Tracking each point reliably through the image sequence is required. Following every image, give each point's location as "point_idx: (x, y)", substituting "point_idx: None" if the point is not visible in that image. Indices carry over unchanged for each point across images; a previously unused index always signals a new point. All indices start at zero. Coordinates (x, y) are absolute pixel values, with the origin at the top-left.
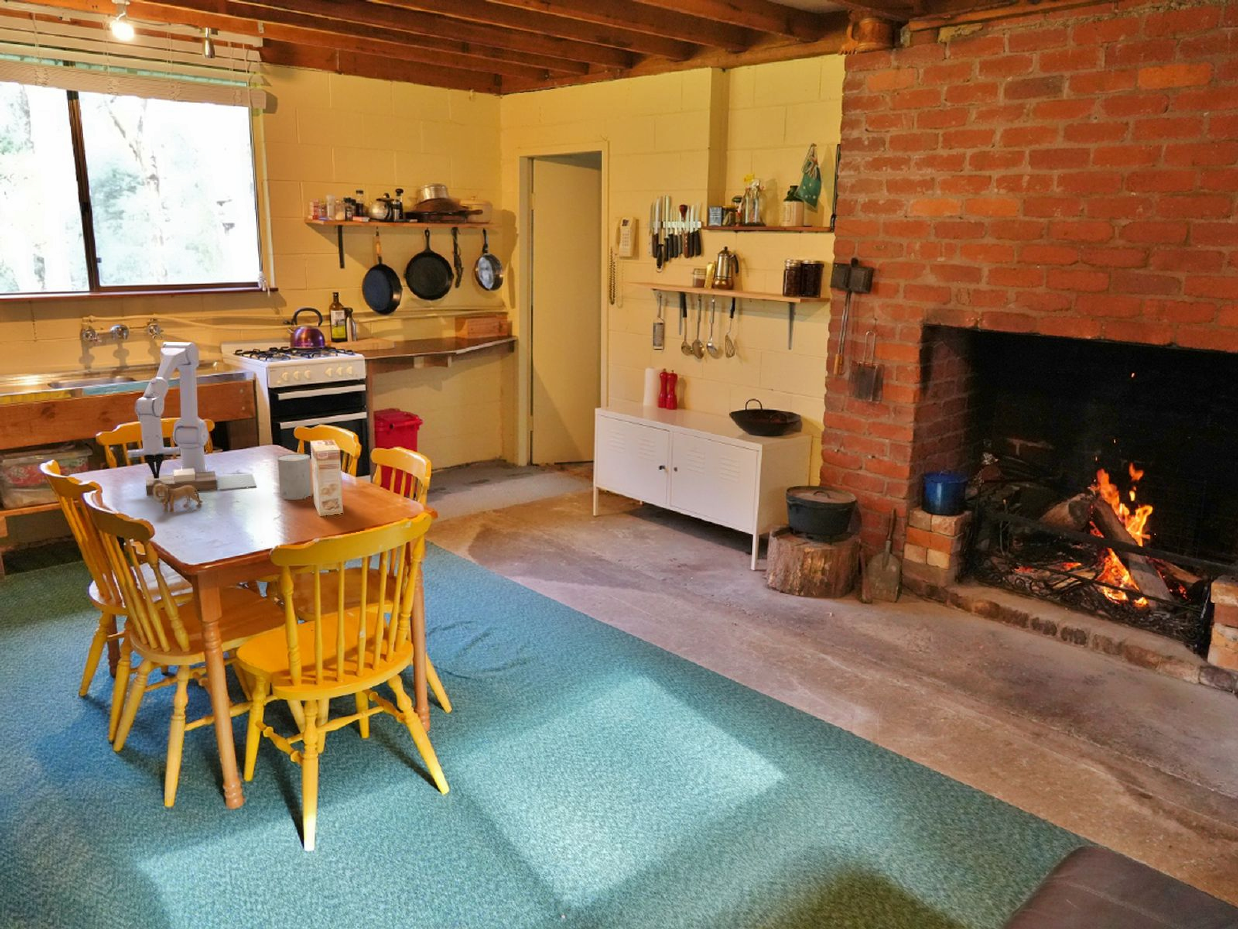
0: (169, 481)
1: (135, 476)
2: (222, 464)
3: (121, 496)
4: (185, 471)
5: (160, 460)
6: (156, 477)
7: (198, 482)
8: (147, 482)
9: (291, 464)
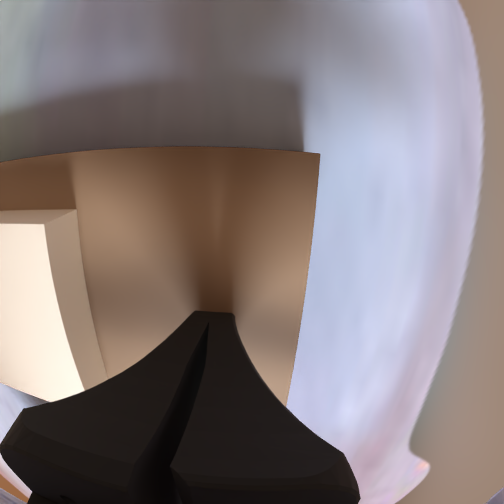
0: (113, 243)
1: None
2: None
3: (442, 207)
4: (7, 333)
5: (61, 416)
6: (211, 315)
7: None
8: (295, 282)
9: None
